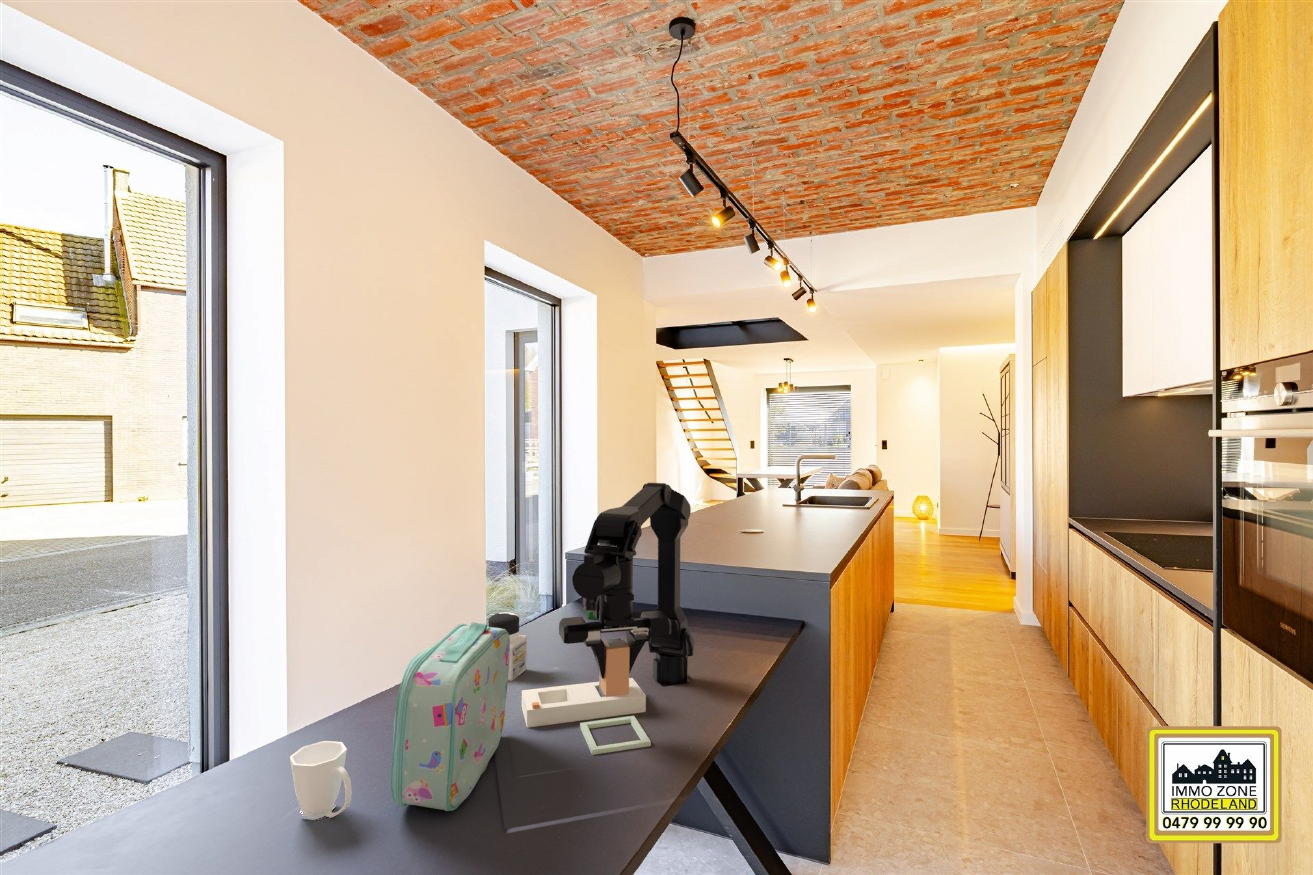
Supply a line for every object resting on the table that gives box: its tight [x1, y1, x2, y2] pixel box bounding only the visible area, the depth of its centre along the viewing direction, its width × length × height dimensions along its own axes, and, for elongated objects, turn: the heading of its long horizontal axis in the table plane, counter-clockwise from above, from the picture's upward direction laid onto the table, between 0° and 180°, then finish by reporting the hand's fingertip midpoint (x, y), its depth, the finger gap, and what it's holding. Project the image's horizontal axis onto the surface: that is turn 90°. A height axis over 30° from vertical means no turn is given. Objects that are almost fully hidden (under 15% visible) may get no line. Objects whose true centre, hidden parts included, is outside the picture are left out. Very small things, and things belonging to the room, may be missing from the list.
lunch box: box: [390, 622, 510, 812], centre depth 95 cm, size 27×10×21 cm, turn 178°
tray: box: [579, 715, 652, 756], centre depth 106 cm, size 10×10×1 cm
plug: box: [601, 638, 630, 697], centre depth 105 cm, size 4×4×9 cm
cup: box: [289, 740, 353, 819], centre depth 84 cm, size 7×10×8 cm
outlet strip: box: [521, 677, 647, 728], centre depth 116 cm, size 22×9×4 cm, turn 108°
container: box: [487, 611, 528, 681], centre depth 134 cm, size 8×8×13 cm
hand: (614, 676), depth 106 cm, fingers closed on plug, 4 cm apart
